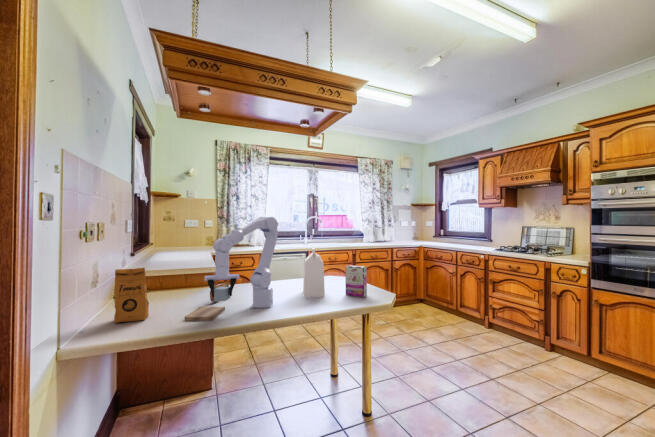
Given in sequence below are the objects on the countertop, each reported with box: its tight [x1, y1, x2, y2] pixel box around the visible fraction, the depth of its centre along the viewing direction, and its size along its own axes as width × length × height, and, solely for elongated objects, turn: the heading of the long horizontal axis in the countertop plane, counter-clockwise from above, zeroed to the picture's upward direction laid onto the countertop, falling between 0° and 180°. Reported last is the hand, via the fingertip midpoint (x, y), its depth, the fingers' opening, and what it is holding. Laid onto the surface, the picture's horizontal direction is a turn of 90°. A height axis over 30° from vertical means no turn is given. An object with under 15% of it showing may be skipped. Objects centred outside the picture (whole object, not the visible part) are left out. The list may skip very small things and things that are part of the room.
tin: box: [209, 282, 230, 303], centre depth 152 cm, size 15×3×8 cm, turn 168°
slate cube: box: [214, 286, 231, 302], centre depth 128 cm, size 5×5×5 cm
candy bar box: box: [345, 264, 368, 298], centre depth 161 cm, size 11×5×16 cm, turn 61°
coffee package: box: [113, 267, 150, 323], centre depth 122 cm, size 10×12×22 cm
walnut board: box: [184, 306, 226, 322], centre depth 128 cm, size 12×14×2 cm
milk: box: [302, 247, 326, 298], centre depth 164 cm, size 12×12×26 cm
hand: (222, 296), depth 128 cm, fingers closed on slate cube, 7 cm apart
